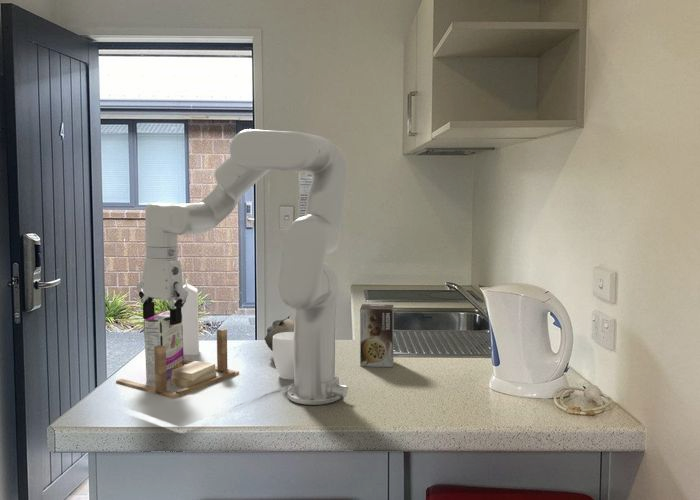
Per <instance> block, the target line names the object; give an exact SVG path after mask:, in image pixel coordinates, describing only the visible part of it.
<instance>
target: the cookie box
mask: <svg viewBox="0 0 700 500" xmlns="http://www.w3.org/2000/svg"><path fill="white" fill-rule="evenodd" d="M359 331H360V332H359V334H360V336H359V338H360V339H359V342H360V343H359V344H360V346H359V347H360V349H359V358H360V361H359V362H360V363H359V367H373V368H374V367H379V368H380V367H382V368H385V367H386V368H393V367H394V304H377V303H375V304H373V303H372V304H368V303H367V304H366V303H364V304H363V303H362V304H361V306H360V308H359Z"/></svg>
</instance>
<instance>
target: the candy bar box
mask: <svg viewBox="0 0 700 500" xmlns="http://www.w3.org/2000/svg"><path fill="white" fill-rule="evenodd" d="M143 330H144V333H143V334H144V348H145V349H144V351H145V371H146V372H145V376H146V382H155V356H154V347H155V346H159V345H161V346H166V375H167V381H168V380H169V379H170V380H171V376H172V370H174V369H176V368H179V367H181V366H184V365H185V364H184V360H185V358H184V357H185V356H183V329H182V312H181V323H180V324H175V325H170V310H164V311H162V312H160V313H157V314H155V316H153V317H150V318H148V319H143Z"/></svg>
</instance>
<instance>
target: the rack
mask: <svg viewBox="0 0 700 500" xmlns="http://www.w3.org/2000/svg"><path fill="white" fill-rule="evenodd" d="M154 356H155V383H154V385H155V386H151V385H146V384H143V383H140V382H139V383H138V382H135V381H132V380H129V379H125V378H119V379H116V380H115V383H116V384H119V385H123V386H127V387H129V388H135V389H137V390H138V389H139V390H140V391H144V392H148V393H152V394H157V395H160V396H164V397H168V398H170V399H176V398H178V397H181V396H184V395H187V394H191V393H192V392H195V391H198V390H200V389H203V388H206V387H208V386H211V385H214V384H217V383H220V382H222V381H224V380H227V379H230V378H233V377H236V376H238V375H240V371H238V370H233V369H230V368H228V329H227V328H226V329H225V328H218V329H216V358H217V360H216V361H217V362H216V364H217V366H216V365H215V371H214V372H216V373H222V374H220V375H216V377H213V378H211V379H208V380H205V381H202V382H200V383H197V384H194V385H191V386H189V387H186V388H183V387H182V388H181V389H178V390H176V391H175V392H174V391H169V390H168V385H167V384H168V383H167V382H168V380H167V375H166V346H161V345H159V346H155V347H154ZM191 362H194V360H188V359H184V365H186V364H189V363H191Z"/></svg>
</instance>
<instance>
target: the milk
mask: <svg viewBox="0 0 700 500" xmlns="http://www.w3.org/2000/svg"><path fill="white" fill-rule="evenodd" d="M183 288H184V289H185V290H186V291H187V292H188V296H187V299H186V302H185V304H184V305H183V307H182V308H181V312H182V329H183V356H184V357H186V356H195V355H196V356H199V354H200V334H199V333H200V329H199V327H200V326H199V322H200V321H199V289H198V288H197V287H195V286H193V285H192V284H189V283H188V278H186V279H185V284H183ZM174 302H175V303H176V301H175V300H174Z"/></svg>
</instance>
